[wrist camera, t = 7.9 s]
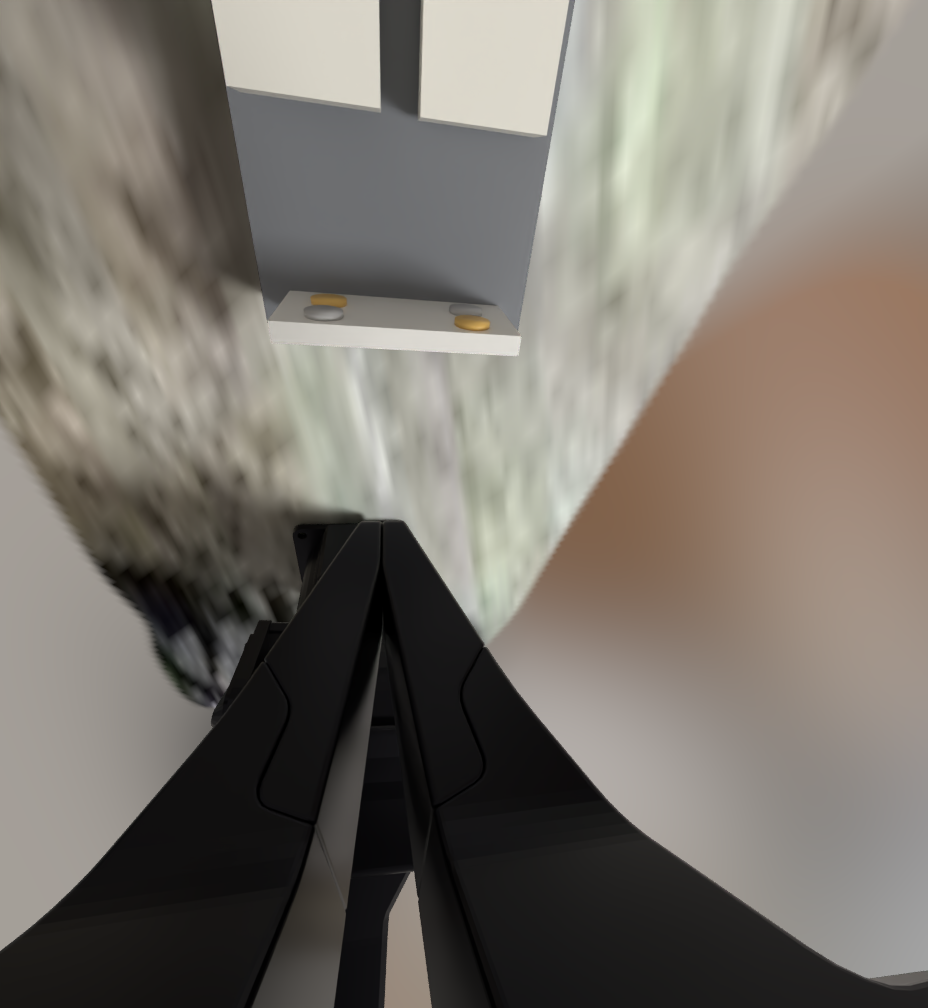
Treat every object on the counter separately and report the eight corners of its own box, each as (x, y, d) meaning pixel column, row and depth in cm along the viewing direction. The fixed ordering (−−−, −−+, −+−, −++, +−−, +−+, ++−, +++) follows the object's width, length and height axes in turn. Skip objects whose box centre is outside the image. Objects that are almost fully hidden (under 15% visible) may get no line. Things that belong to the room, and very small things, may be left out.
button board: (500, 316, 19) (542, 373, 14) (283, 300, 17) (240, 359, 12) (603, -396, 9) (849, -1024, 4) (153, -569, 8) (-250, -1833, 3)
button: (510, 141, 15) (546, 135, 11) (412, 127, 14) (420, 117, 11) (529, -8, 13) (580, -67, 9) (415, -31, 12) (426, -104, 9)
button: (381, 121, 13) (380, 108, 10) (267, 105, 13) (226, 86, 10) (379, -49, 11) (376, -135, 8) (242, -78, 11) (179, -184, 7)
